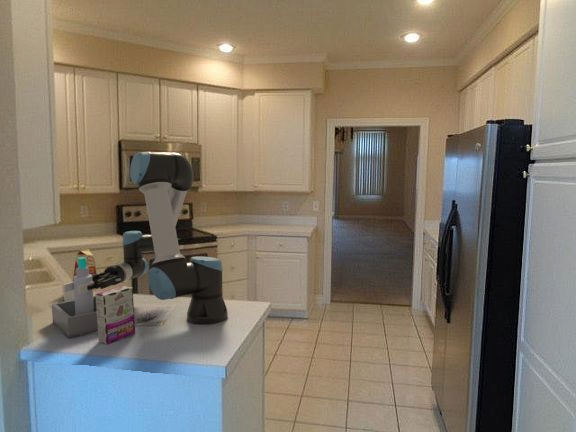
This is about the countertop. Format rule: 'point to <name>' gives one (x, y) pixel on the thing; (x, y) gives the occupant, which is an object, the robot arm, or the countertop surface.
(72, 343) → the countertop surface
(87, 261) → the milk carton
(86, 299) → the spray bottle
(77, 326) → the tote
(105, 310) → the candy bar box
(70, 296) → the white cylinder
